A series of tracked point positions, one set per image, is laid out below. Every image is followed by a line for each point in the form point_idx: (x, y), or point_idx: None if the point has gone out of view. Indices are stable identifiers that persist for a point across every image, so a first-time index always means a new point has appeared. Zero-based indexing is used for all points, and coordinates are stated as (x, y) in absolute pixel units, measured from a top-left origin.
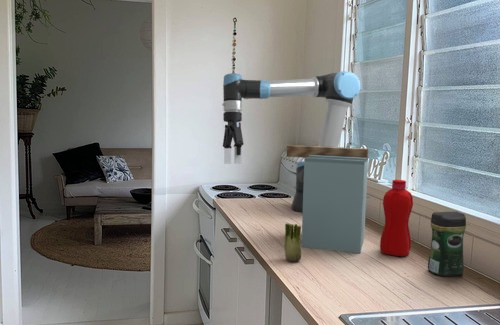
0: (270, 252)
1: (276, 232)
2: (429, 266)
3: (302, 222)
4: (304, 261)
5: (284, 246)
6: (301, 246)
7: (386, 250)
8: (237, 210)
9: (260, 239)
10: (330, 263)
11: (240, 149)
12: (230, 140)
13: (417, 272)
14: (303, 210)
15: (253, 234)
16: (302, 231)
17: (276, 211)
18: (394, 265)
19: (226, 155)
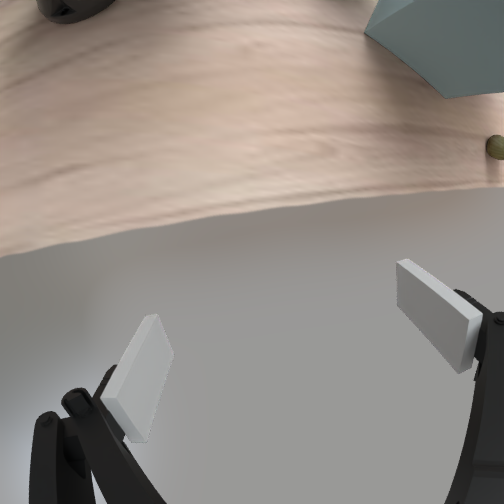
0: (465, 169)
1: (355, 108)
2: None
3: (481, 93)
4: (492, 130)
5: (501, 158)
6: (445, 98)
7: None
8: (75, 196)
9: (405, 166)
10: (496, 98)
11: (485, 310)
12: (144, 485)
13: None
14: (501, 91)
15: (369, 173)
16: (467, 95)
17: (94, 65)
18: None
19: (155, 385)
